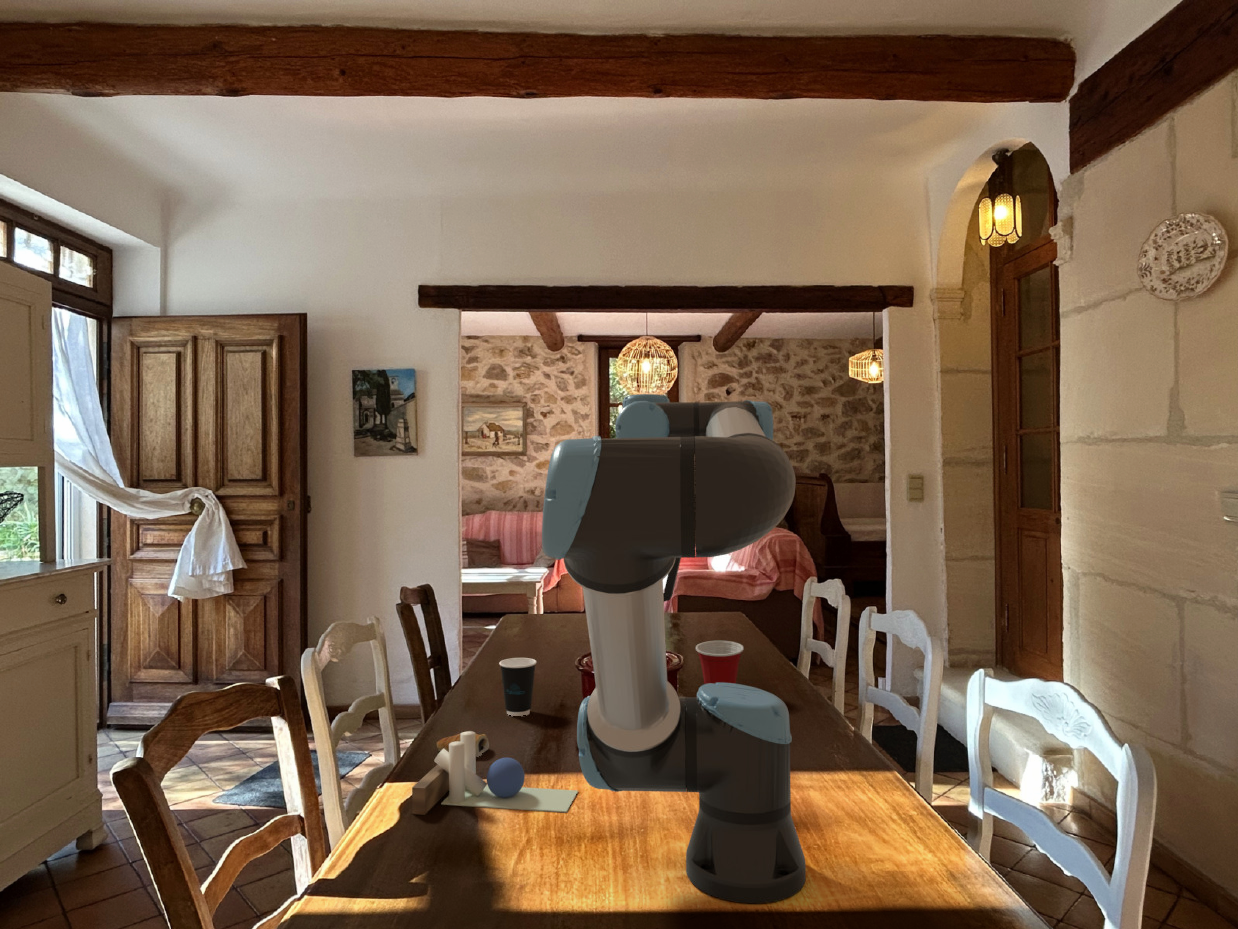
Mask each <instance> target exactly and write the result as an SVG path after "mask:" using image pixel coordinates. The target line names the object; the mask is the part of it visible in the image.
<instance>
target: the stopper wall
mask: <svg viewBox="0 0 1238 929" xmlns="http://www.w3.org/2000/svg"><path fill="white" fill-rule="evenodd" d="M448 791H449V773H448V772H447V771H445V770H444V769H443V768H442V767H440V766H439V765H438V764H437V763H436V765H435V766H434V767H432V769H430V770H429V771H428V772H427V773H426V774H425V775H424V776H423V777H422V778H421V779H420V780H419V781H417V782H416V783H415V784H414V785H413V786H412V787H411V794H412V795H411V797H412V798H411V802H412V804H411V805H412V806H411V807H412V809H411V811H412V813H411V814H412V815H420V816H421V815H422V816H425V815H426V814H427V813H428V812H430V810H431V809H432V808H433V807H434V806H435V805H436V804H438V802H439V801H440V800H441V799H442V798H443V796H445V795H446V793H447V792H448Z"/></svg>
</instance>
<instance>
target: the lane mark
mask: <svg viewBox="0 0 1238 929" xmlns="http://www.w3.org/2000/svg"><path fill="white" fill-rule="evenodd" d="M578 793H579V790H576V789H575V790H572V789H556V788H539V787H538V788H537V787H523V786H522V788H521V790H520V791H519V792H518V793H517V794H515V795H514V796H512V797H509V798H501V797H498V796H496V795H494V794H493V793H492V792H491V791H490V789H489V787H488V785H486V787H485V788H484V789H483V791H482V792H481V793H480V795H479V796H478V797H477V796H476V795H475V794H474V793H472V792H471V791H470V790H469V791H465V800H464V801H463V802H461V803H451V802H450V801H449V795H447V797H446V798H444V800H443V801H442V802H441V805H442V806H443V805H444V806H446V805H447V806H456V807H457V806H461V807H472V808H473V807H474V808H475V807H477V808H492V809H505V810H507V809H508V810H523V811H537V812H552V813H553V812H554V813H567V812H568V811H569V809H570V807H571V806H570V805H572V804H573V802H574V800H575V798H576V797H577V795H578ZM576 794H577V795H576ZM572 801H573V802H572Z"/></svg>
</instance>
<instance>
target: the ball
mask: <svg viewBox="0 0 1238 929" xmlns="http://www.w3.org/2000/svg"><path fill="white" fill-rule="evenodd" d="M486 783H487V785H488V787H489V789H490V791H491V792H492V793H493V794H494V795H496V796H498V797H501V798H509V797H512V796H514V795H515V794H517V793H518V792H519V791H520V790H521V788H522V787H523V785H524V783H525V771H524V768H523V765H522V764H521V763H520V762H519V761H518V760H516V759H515V758H512V757H502V758H499V759H497V760H495V761H494V762H493V763H492V764H490V766H489V768H488V771H487V773H486Z"/></svg>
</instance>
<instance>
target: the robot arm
mask: <svg viewBox="0 0 1238 929" xmlns="http://www.w3.org/2000/svg"><path fill="white" fill-rule="evenodd" d="M621 408H622V410H621V411H620V412H618V415H617V417H616V421H615V427H614V430H615V436H616V438H602V437H601V435H594V436H592V437H588V438H587V437H586V438H573V439H571V438H569V439H565V440H562V441H561V442H559V443H558V444H556V446H555V447H554V448H553V450H552V453H551V455H550V458H549V463H548V467H547V468H548V469H547V472H546V473H547V475H546V480H545V490H544V499H543V508H542V509H543V510H542V521H541V522H542V523H541V524H542V525H541V547H542V551H543V554H544V555H545V556H546V557H548V558H553V559H555V560H558V561H561V560H563V563H564V568H565V569H566V572H567V575H569V576H570V579H572V580H573V581H574V582H575V583H576V584H577V585H579V586H580V587H581V588H582V594H583V600H584V608H585V616H586V622H587V623H586V624H587V631H588V637H589V645H590V652H591V653H590V654H591V658H592V659H591V660H592V667H593V674H594V682H595V688H594V690H593V691H592V693H591V695H588V696H587V697H584V699H583V700H582V701H581V703H580V706H579V710H578V716H577V724H576V726H577V727H576V742H577V748H578V760H579V761H578V762H579V765H580V769H581V772H582V776H583V777H584V779H585V781H586V783H588V785H589V786H590V787H593V789H597V790H609V791H611V792H615V793H618V792H619V793H620V792H660V793H662V792H665V793H668V792H671V793H673V792H675V793H677V792H678V793H681V792H682V793H698V798H699V799H698V800H699V801H698V802H699V803H698V804H699V805H698V813H697V816H696V820H695V822H694V825H693V829H692V832H691V835H690V839H689V842H688V844H687V848H686V852H685V872H686V876H687V878H688V879H689V881H690V882H691V883H692V884H693V886H695V887H696V888H697V889H698V890H700V891H702V892H703V893H706V894H708V895H710V896H713V897H715V898H718V899H722V900H725V901H730V902H733V903H734V902H735V903H743V904H763V903H773V902H777V901H781V900H785V899H787V898H790V897H792V896H794V895H795V894H797V893H798V892H800V890H801V889H802V888H803V887H804V886H805V884H806V881H807V880H806V876H807V874H806V870H807V869H806V867H807V866H806V857H805V854H804V852H803V847H802V845H801V842H800V839H799V835H798V833H797V830H796V826H795V823H794V821H793V817H792V809H791V808H792V807H791V804H792V801H791V800H792V799H791V798H792V797H791V796H792V795H791V793H792V792H791V791H792V790H791V788H792V787H791V744H790V743H792V737H793V736H792V734H791V729H790V726H791V725H790V714H789V710H788V707H787V705H786V703H785V702H784V701H783V700H782V699H781V698H779V696H777V695H775V694H773V693H771V692H769V691H767V690H763V689H761V688H758V687H755V686H750V685H745V684H741V683H740V684H739V683H736V684H734V683H715V684H714V683H708V684H704V683H703V684H702V685H701V686H700V687H698V691H697V692H696V696H695V697H694V696H693V697H692V696H691V697H690V696H679V695H678V693H677V690H676V689H675V688H674V686H673V685H672V684H671V683H670V682H669V681H668V669H667V651H666V649H667V648H666V624H665V604H664V603H665V602H668V601H670V600H671V599H672V598H673V594H674V590H675V586H676V581H677V577H678V573H679V568H680V564H681V560H682V558H690V559H691V558H714V557H720V556H725V555H729V554H731V553H735V552H738V551H741V550H742V549H745V548H747V547H749V546H750V545H752V544H755V543H757V542H758V541H759V540H761V539H762V538H763V537H765V536H766V535H768V534H769V533H770V532H771V531H773V529H775V528H776V527H777V526H778V525H779V524H780V523H781V522H782V520H783V519H784V518H785V516H786V514H787V513H788V511H789V509H790V507H791V506H792V504H793V501H794V497H795V492H796V481H797V480H796V475H795V470H794V467H793V465H792V463H791V460H790V459H789V456H788V455H787V453H786V452H785V450H784V449H783V448H782V447H781V446H780V445H779V444H778V442H776V441H774V414H773V407H772V406H771V404H770V403H769V402H767V401H753V400H749V399H748V400H747V399H746V400H742V401H741V400H740V401H712V402H711V401H710V402H709V401H708V402H706V401H705V402H697V401H696V402H695V401H693V402H688V401H687V402H675V401H674V402H671V401H670V398H668V396H666V395H664V394H656V393H655V394H652V393H645V394H643V393H642V394H641V393H640V394H630V395H627V396H625V397H624V398H623V400H622V407H621ZM666 577H667V578H666ZM665 578H666V582H665V586H664V579H665Z"/></svg>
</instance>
